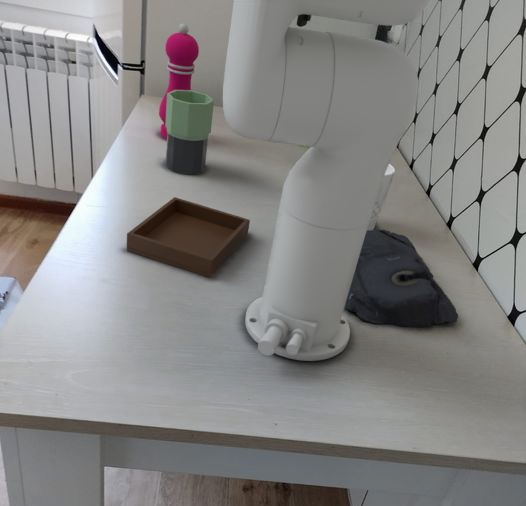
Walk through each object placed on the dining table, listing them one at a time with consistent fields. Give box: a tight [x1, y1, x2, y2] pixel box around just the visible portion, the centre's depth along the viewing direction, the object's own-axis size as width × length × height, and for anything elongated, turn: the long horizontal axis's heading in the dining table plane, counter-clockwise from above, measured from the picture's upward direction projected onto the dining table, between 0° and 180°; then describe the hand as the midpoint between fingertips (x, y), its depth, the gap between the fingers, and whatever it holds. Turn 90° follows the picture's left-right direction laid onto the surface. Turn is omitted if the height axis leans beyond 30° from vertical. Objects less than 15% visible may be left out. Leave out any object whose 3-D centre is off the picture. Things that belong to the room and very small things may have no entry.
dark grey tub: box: [165, 132, 209, 176], centre depth 103 cm, size 7×7×6 cm
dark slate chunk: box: [344, 228, 459, 328], centre depth 82 cm, size 15×22×5 cm
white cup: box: [367, 163, 396, 231], centre depth 94 cm, size 8×8×10 cm
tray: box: [126, 197, 251, 278], centre depth 82 cm, size 14×12×3 cm
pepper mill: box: [158, 23, 200, 140], centre depth 110 cm, size 7×7×20 cm
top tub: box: [165, 89, 215, 141], centre depth 99 cm, size 7×7×6 cm
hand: (271, 18), depth 90 cm, fingers open, 9 cm apart
